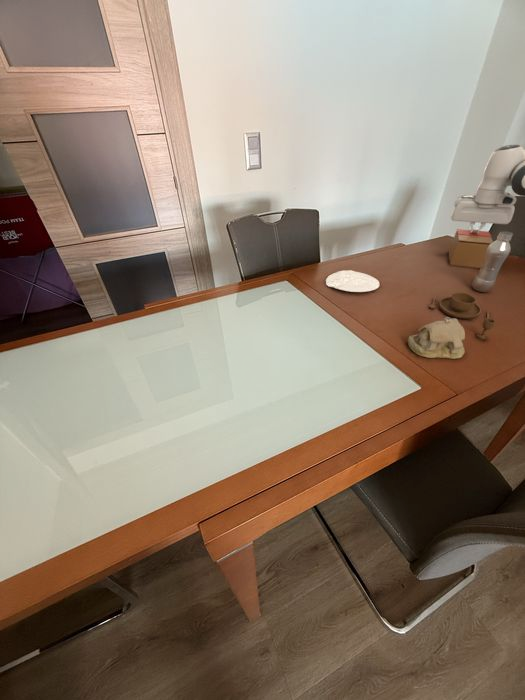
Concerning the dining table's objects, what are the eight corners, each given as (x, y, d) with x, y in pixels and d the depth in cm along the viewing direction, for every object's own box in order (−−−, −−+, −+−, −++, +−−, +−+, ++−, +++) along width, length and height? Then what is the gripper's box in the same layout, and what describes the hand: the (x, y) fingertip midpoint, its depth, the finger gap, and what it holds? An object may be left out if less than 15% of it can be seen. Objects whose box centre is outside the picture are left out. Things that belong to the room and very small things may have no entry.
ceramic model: (445, 333, 90) (458, 304, 84) (471, 357, 81) (487, 327, 75) (401, 339, 89) (410, 310, 82) (422, 364, 80) (434, 334, 74)
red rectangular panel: (456, 230, 129) (457, 229, 129) (488, 232, 125) (489, 231, 125) (457, 234, 124) (458, 233, 124) (491, 237, 120) (491, 236, 120)
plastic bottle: (472, 293, 107) (498, 236, 94) (467, 284, 112) (491, 229, 99) (493, 295, 105) (522, 237, 93) (487, 286, 110) (513, 230, 98)
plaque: (357, 300, 106) (358, 296, 105) (315, 282, 118) (315, 279, 117) (389, 283, 116) (390, 279, 115) (347, 268, 128) (348, 265, 127)
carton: (448, 252, 135) (456, 229, 129) (479, 255, 131) (489, 231, 125) (449, 264, 125) (458, 240, 119) (482, 268, 122) (493, 243, 115)
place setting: (490, 308, 99) (498, 292, 95) (489, 341, 86) (498, 324, 82) (432, 296, 106) (437, 281, 103) (423, 325, 93) (428, 309, 90)
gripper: (458, 196, 116) (445, 233, 125) (521, 199, 109) (504, 238, 118) (457, 193, 120) (445, 228, 129) (518, 195, 114) (501, 233, 122)
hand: (473, 233), depth 124 cm, fingers closed, pressing on red rectangular panel
